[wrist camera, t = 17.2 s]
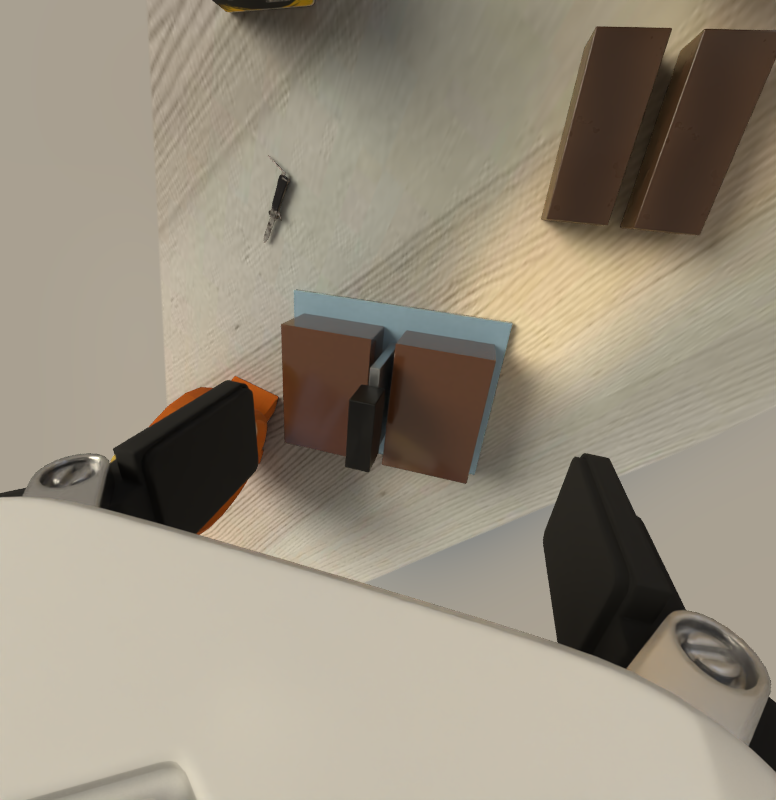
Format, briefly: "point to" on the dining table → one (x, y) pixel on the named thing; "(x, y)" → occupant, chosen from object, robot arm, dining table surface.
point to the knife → (276, 201)
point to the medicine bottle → (260, 4)
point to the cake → (410, 385)
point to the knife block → (656, 126)
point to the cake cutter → (369, 414)
